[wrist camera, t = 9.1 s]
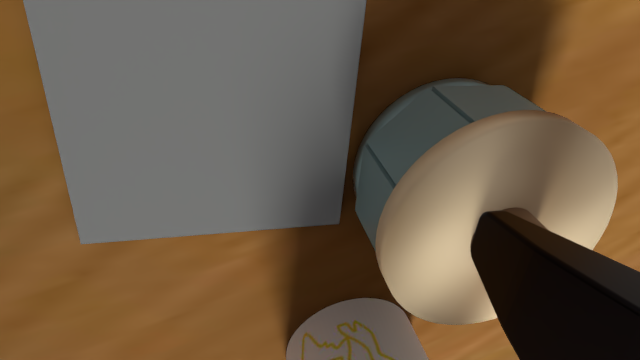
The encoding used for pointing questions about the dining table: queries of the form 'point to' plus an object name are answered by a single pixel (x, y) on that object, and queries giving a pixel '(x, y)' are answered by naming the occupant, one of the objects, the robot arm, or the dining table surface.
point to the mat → (199, 111)
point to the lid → (488, 205)
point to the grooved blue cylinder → (419, 135)
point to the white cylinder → (356, 333)
